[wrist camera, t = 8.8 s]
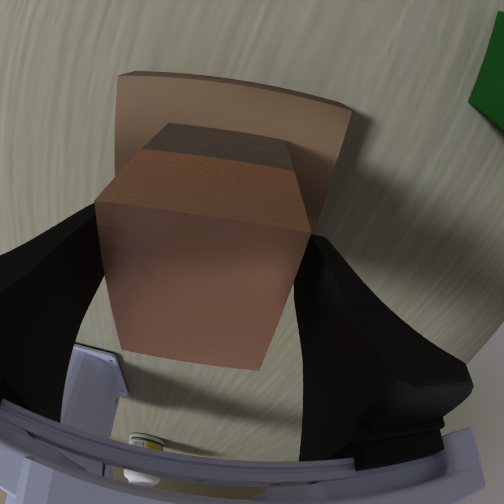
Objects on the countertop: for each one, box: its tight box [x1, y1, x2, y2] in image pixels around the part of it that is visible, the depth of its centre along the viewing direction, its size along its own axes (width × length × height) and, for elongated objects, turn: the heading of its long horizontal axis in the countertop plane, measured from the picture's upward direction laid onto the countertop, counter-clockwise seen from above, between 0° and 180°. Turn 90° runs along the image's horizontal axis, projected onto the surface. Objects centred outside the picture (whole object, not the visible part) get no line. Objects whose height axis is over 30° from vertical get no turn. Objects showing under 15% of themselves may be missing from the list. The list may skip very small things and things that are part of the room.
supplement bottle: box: [124, 433, 164, 488], centre depth 40 cm, size 6×6×11 cm
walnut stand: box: [115, 71, 352, 285], centre depth 15 cm, size 10×10×2 cm
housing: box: [95, 123, 311, 370], centre depth 11 cm, size 5×6×7 cm
